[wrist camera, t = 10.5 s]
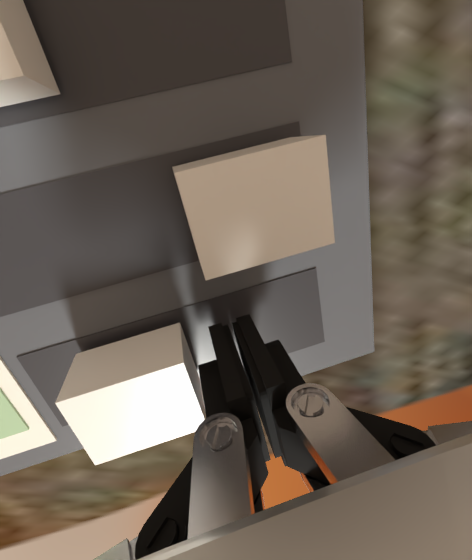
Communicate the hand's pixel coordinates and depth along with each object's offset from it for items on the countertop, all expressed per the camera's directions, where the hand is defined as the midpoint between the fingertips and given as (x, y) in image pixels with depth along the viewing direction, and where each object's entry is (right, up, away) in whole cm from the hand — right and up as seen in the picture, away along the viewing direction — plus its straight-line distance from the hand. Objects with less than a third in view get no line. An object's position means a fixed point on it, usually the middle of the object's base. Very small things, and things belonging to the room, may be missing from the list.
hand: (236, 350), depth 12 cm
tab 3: (-4, -1, 0) cm, 4 cm away
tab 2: (0, +6, -2) cm, 6 cm away
